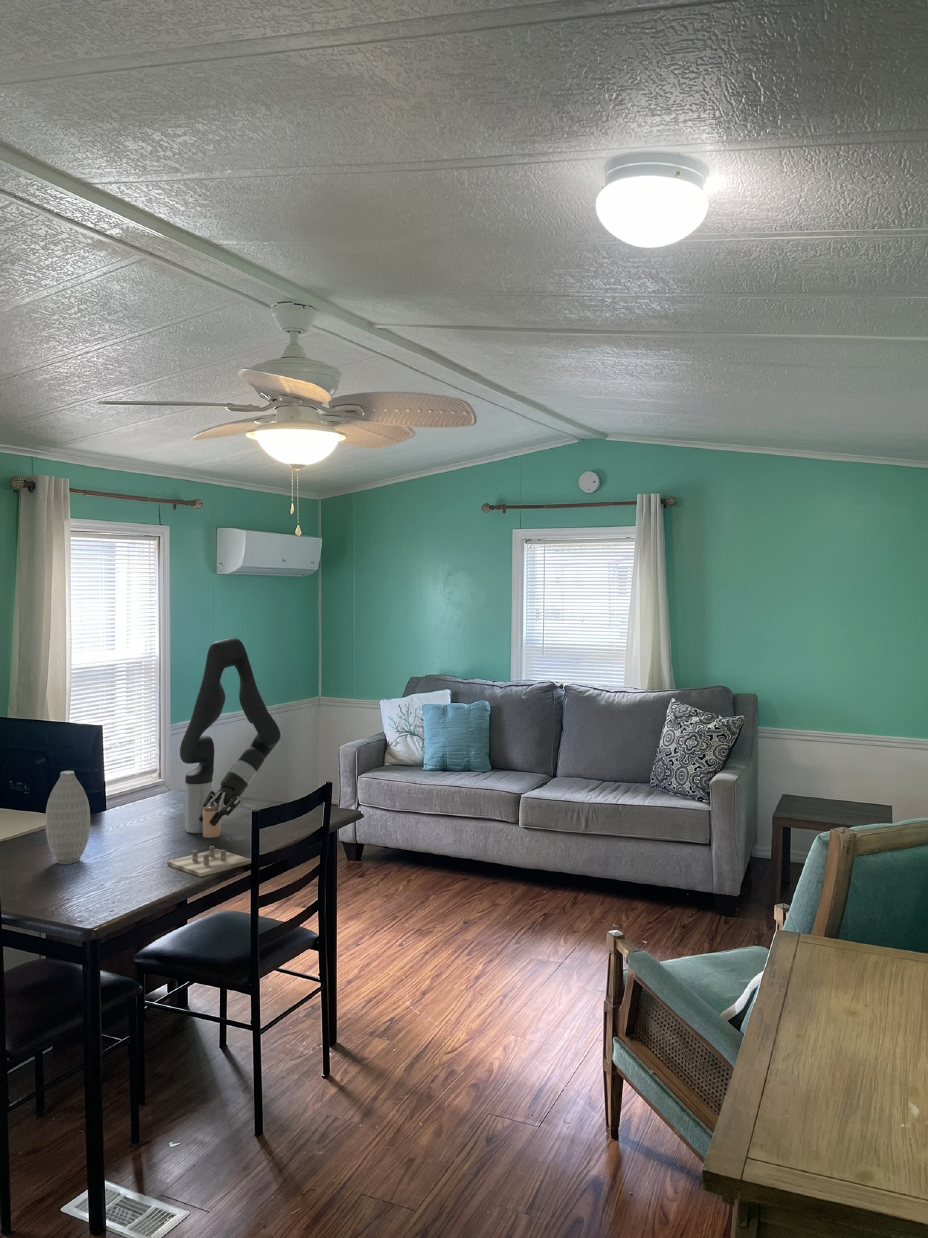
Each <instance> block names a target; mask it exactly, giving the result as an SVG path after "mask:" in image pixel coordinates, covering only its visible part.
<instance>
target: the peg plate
mask: <svg viewBox="0 0 928 1238" xmlns="http://www.w3.org/2000/svg"><path fill="white" fill-rule="evenodd" d="M249 864H252V858H247V857H245V856H241V855H238V854H235V853H232V852H229V851H227V850H226V849H219V848H216V846H215V845H211V846H210V845H209V850H207V851H202V852H200V853H199V850H197V849H195V850H192V851H191V854H190V855H187V856H182V857H180V858H175V859H171V860H167V861H166V865H167V866H169V867H172V868H174V869H177V870H180V871H183V872H185V873H188V874H191V875H194V876H197V877H200V878H201V877H205V876H208V875H212V874H216V873H220V872H224V871H227V870H232V869H235V868H238V867H242V866H243V867H244V866H247V865H249Z"/></svg>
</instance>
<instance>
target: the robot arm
mask: <svg viewBox="0 0 928 1238" xmlns="http://www.w3.org/2000/svg"><path fill="white" fill-rule="evenodd" d="M230 667H235V668H236V671H237V673H238V677H239V690H238V692H239V694H238V695H239V696H238V697H239V698H238V699H239V704H240V706H241V709H242V711H243V713H244V714H245V717H246V720H247V721H248V722H249V723H250V724H251V725H253V727H254V728H255V731H256V733H257V734H256V736H255V737H254V738H253V740H252V742H251V743H250V744H249V746H248V747H247V748H246V750H245V751H243V753H242V754H241V756H240V757H239V758H238V759H237V761H236V762H235V763H234V764H233V765H232V766H231V768H230V769H229V770H228V772H227V774H226V775H225V776H224V778H223V779H222V780H221V781H220V786H221V787H220V788H219V789H218V790H217V791H214V790H213V785H214V784H213V783H214V782H213V780H214V779H213V775H214V771H215V770H214V767H215V744H214V740H213V738H212V736H210V735H203V734H204V733H205V731H207V730H208V729H209V728H210V727H211V726H213V724H214V723H216V721H217V720H218V719H219V718H220V716H221V714H222V712H223V709H224V705H225V702H226V693H225V690H224V687H223V685H222V683H221V679H222V676H223V672H224V670H225V669H227V668H230ZM193 707H194V708H193V711H192V715H191V718H190V721H189V724H188V727H187V728H186V731H185V733H184V735H183V737H182V740H181V743H180V745H179V746H180V748H179V756H180V760H181V762H182V763H184V764H190V765H191V764H198V765H197V766H196V767H195V768H194V769H193V770H191V771H189V772H188V773H186V775H185V779H184V781H185V782H184V783H185V803H184V830H185V831H186V832H187V833H191V834H203V809H204V807H205V806H210V805H217V806H219V808H218V811H217V812H218V813H217V812H216V813H215V814H214V816H213V817H212V819H211V820H210V822H209V823H210V824H211V825H212V826H215V825H216V824H217V823H218V822H219V820H220V821H221V819H222V818H223V817H225V816H226V817H227V816H229V815H231V813H232V812H233V811H234V810H235V809H236V808H237V807H238V806H239V804H240V803H241V801H242V800H240V798H239V797H241V796H242V795H243V793H244V792H245V790H246V789H247V788H248V786H249V785H250V783H251V782H252V780H254V777H255V775H256V774H257V772H258V771H259V770H260V768H261V766H262V765H263V763H264V761H265V760H266V759H267V757H268V755H270V753H271V752H272V751H273V749H274V748H275V747H276V745H277V744H278V743H279V741H280V740H281V737H282V736H281V731H280V727H279V725H278V724H277V722H276V721H275V719H274V718H273V717H272V715H271V714H270V713H269V710H268V708H267V707H266V705H265V701H264V699H263V698H262V696H261V693H260V692H259V689H258V687H257V684H256V680H255V676H254V672H253V670H252V666H251V663H250V659H249V656H248V653H247V650H246V648H245V646H244V644H243V642H242V641H241V640H240V639H239V638H237V637H231V638H226V639H225V638H224V639H221V640H217V641H214V642H212V643H211V644H210V646H209V648H208V651H207V655H206V661H205V667H204V672H203V676H202V679H201V684H200V688H199V691H198V693H197V697H196V699H195V703H194V706H193Z"/></svg>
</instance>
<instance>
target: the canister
mask: <svg viewBox="0 0 928 1238" xmlns="http://www.w3.org/2000/svg"><path fill="white" fill-rule="evenodd" d="M218 808H219V806H217V805H210V806H205V807H204V809H203V833H202V837H203V838H217V837H220V836H221V819H220V820H219V822H218V823H217V824H216V825H215V826H212V825H211V824H210V823H209V822H210V820H211V819H212V817H213V816H214V814H215V813H216V812H217V811H218ZM217 813H218V812H217Z"/></svg>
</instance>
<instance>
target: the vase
mask: <svg viewBox="0 0 928 1238" xmlns="http://www.w3.org/2000/svg"><path fill="white" fill-rule="evenodd" d="M59 774H60V775H59V778H58V780H57V781H56V783H55V784H54V786H53V788H52V790H51V792H50V794H49V797H48V799H47V804H46V809H45V833H46V839H47V844H48V847H49V850H50V852H51V854H52V857H54V859H55V861H56V862H57V863H58V864H59V865H71V864H75V863H78V862H79V861H80V860H81V857H82V856H83V855H84V852H85V850H86V847H87V844H88V842H89V841H88V840H89V836H90V829H91V811H90V809H91V808H90V804H89V803H90V802H89V800H88V796H87V794H86V791H85V789H84V788H83V786H82V784H81V783H80V781H79V780H78V778H77V777H76V775H75V771H74V770H64V771H61V772H60V773H59Z"/></svg>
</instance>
